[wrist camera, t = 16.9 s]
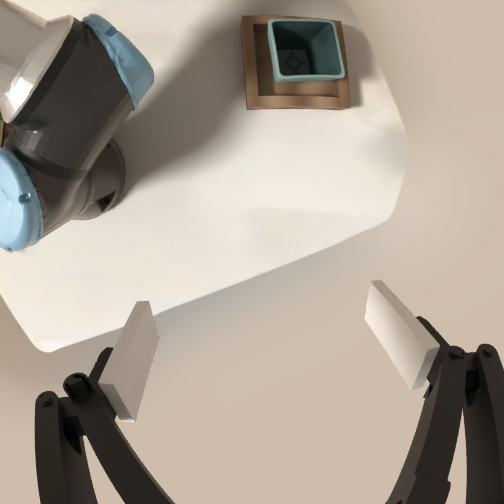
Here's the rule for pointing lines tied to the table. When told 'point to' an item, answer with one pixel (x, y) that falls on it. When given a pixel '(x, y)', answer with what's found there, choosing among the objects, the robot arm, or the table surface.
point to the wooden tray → (293, 93)
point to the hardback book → (1, 129)
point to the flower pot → (305, 50)
